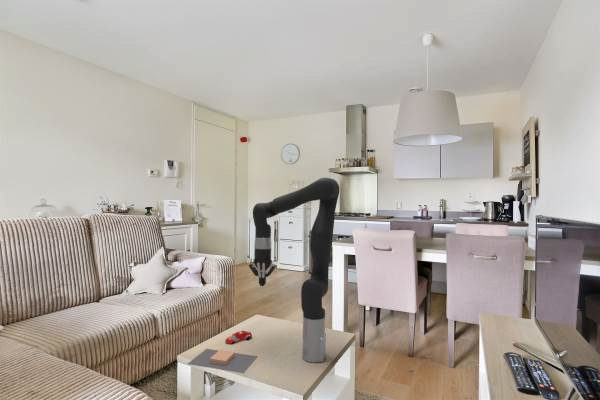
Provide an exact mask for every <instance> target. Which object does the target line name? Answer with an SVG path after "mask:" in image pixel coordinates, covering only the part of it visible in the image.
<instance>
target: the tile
mask: <svg viewBox="0 0 600 400" xmlns="http://www.w3.org/2000/svg"><path fill="white" fill-rule="evenodd" d="M218 350H219V351H218V352H217V353H216V354H214V355H213V356H212V357H211V358H210V363H213V364H219V365H225V366H226V365H227V364H228V363H229V362H230V361H231V360H232V359H233V358H234V357H235V353H236V351H232V350H230V351H229V350H223V349H218Z"/></svg>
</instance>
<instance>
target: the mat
mask: <svg viewBox="0 0 600 400" xmlns="http://www.w3.org/2000/svg"><path fill="white" fill-rule="evenodd" d="M219 350H220V349H218V350H217V349H211V348H210V349H209V348H205V349H204V350H203V351H201V353H199V354H198V355H197V356H196V357H194V358H193V359H191V361H189V362H188V363H187V365H190V366H191V365H192V366H196V367H203V368H209V369H217V370H221V371H226V372H228V371H229V372H232V373H233V372H234V373H241V374H244V373H245V372H246V371H247V370H248V369H249V367H251V366H252V364H253V363H254V362H255V361H256V359H257V358H258V357H259V356H258V355H250V354H243V353H239V352H235V357H234V358H233V359H232V360H231V361H230V362H229V363H228V364H227V365H226V366H225V365H219V364H213V363H210V358H211V357H212V356H213V355H214V354H216V353H217V352H218V351H219Z"/></svg>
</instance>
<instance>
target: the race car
mask: <svg viewBox="0 0 600 400" xmlns="http://www.w3.org/2000/svg"><path fill="white" fill-rule="evenodd" d="M252 338H253V334H252V332H251V331H249V330H240V331H236V332H235V333H232V334H231V335H230V336H229V337H227V338H226V339H225V344H226V345H234V344H238V343H240V342H243V341H250V340H251V339H252Z"/></svg>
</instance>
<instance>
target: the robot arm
mask: <svg viewBox="0 0 600 400" xmlns="http://www.w3.org/2000/svg"><path fill="white" fill-rule="evenodd" d="M339 194H340V185H339V183H338V181H336V179H333V178H331V177H321V178H320V177H319V179H317V180H315V181H313V182H311V183H310V184H308V185H306V186H304V187H303V188H300V189H297V190H295V191H293V192H289V193H286V194H283V195H280V196H278V197H275V198H274V199H273V200H272V201H269V202H258V203H256V204H254V206H253V208H252V218H253V224H254V226H255V229H254V230H255V237H254V246H253V247H254V254H253V255H254V256H253V257H254V258H253V261H252V263H250V264H248V267H249V268H250V270H251V272H252V273H253V274H254V276H255V277H258V285H259V286H260V287H265V285H267V278H268V277H269V276H271V275H272V273H273V272H274V271H275V269H276V268H277V265H276V264H274V263H273V261H272V226H271V224H268V219H271V218H273V217H275V216H277V215H279V214H282V213H286V212H288V211H291V210H294V209H296V208H298V207H300V206H301V205H304V204H306V203H309V202H310V203H311V202H313V201H319V203H318V204H319V207H318V212H317V214H316V217H315V218H314V219H315V220H314V222H313V224H312V227H311V230H310V231H311V233H310V240H309V241H310V242H309V249H310V250H309V251H310V255H311V258H312V267H311V274H310V277H309V279H306V280H305V281H304V282H302V284H301V290H300V298H301V303H300V304H301V311H302V359H303V360H304V361H305V362H309V363H320V362H321V363H323V362H324V361H325V358H326V356H327V355H326V352H327V346H326V345H327V344H326V343H327V333H326V310H325V308H324V307H323V298H324V297H325V295H327V294H328V291H329V267H330V259H331V253H332V247H333V246H332V245H333V238H334V237H333V236H334V228H335V227H334V226H335V217H336V209H337V204H338V199H339ZM268 269H269V270H268Z"/></svg>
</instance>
